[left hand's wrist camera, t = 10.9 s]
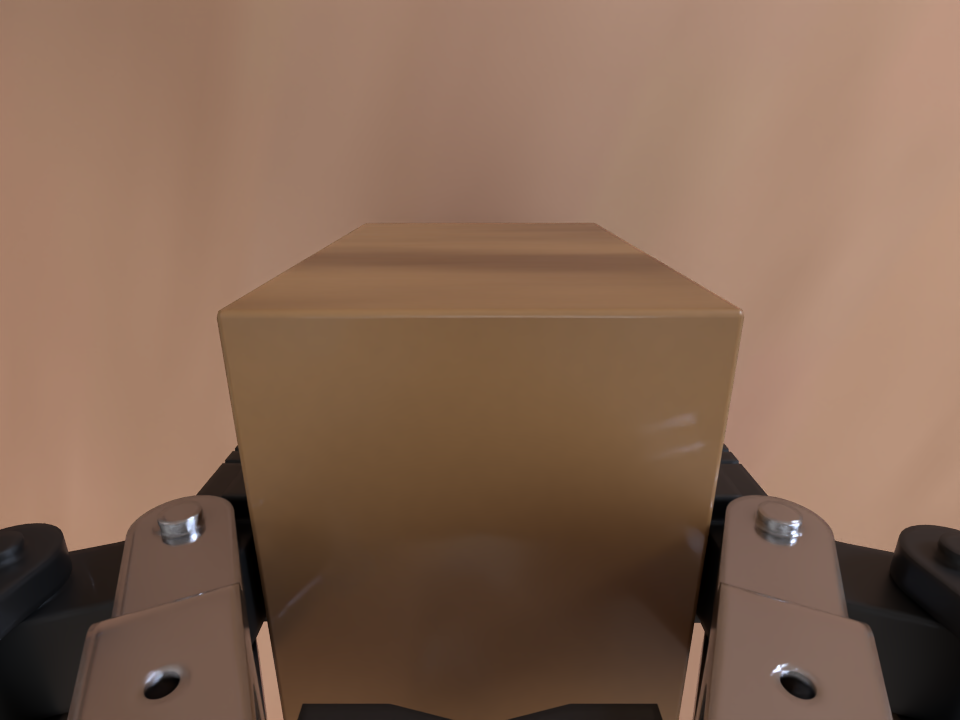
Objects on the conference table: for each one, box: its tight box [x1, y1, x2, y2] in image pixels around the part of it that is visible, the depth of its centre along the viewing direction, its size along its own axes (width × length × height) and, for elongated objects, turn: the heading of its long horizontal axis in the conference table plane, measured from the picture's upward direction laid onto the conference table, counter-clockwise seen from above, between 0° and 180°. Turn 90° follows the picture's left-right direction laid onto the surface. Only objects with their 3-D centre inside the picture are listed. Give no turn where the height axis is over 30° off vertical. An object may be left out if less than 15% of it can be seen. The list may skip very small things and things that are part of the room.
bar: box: [217, 223, 744, 720], centre depth 14 cm, size 23×6×9 cm, turn 0°
